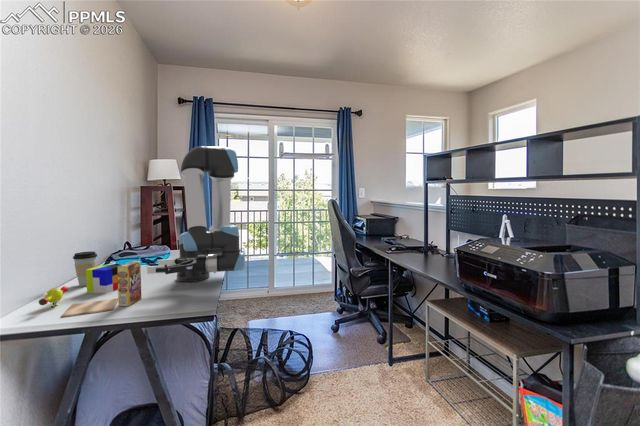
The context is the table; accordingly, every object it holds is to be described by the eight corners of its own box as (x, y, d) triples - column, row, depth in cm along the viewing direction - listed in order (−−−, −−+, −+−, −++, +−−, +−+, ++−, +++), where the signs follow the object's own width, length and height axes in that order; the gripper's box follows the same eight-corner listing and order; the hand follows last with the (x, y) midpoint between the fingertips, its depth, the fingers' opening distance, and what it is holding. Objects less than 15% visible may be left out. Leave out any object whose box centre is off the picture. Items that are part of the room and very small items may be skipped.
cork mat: (118, 299, 129) (118, 298, 129) (112, 310, 117) (112, 308, 117) (72, 305, 123) (72, 304, 123) (61, 317, 111) (61, 315, 111)
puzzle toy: (106, 293, 138) (105, 270, 137) (87, 292, 140) (85, 269, 139) (125, 286, 148) (124, 265, 147) (106, 286, 150) (105, 264, 149)
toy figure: (57, 299, 130) (56, 283, 130) (73, 298, 132) (72, 281, 132) (31, 315, 113) (30, 296, 113) (50, 313, 115) (49, 294, 114)
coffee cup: (73, 284, 153) (71, 253, 152) (97, 280, 159) (95, 250, 158) (75, 288, 146) (73, 255, 145) (100, 284, 152) (98, 252, 151)
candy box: (129, 306, 121) (127, 265, 120) (118, 306, 121) (115, 266, 120) (142, 298, 130) (140, 260, 129) (131, 299, 130) (129, 261, 129)
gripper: (202, 279, 125) (142, 283, 121) (212, 265, 149) (162, 268, 146) (201, 260, 124) (141, 263, 121) (211, 249, 149) (162, 252, 145)
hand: (153, 266), depth 133 cm, fingers open, 13 cm apart
